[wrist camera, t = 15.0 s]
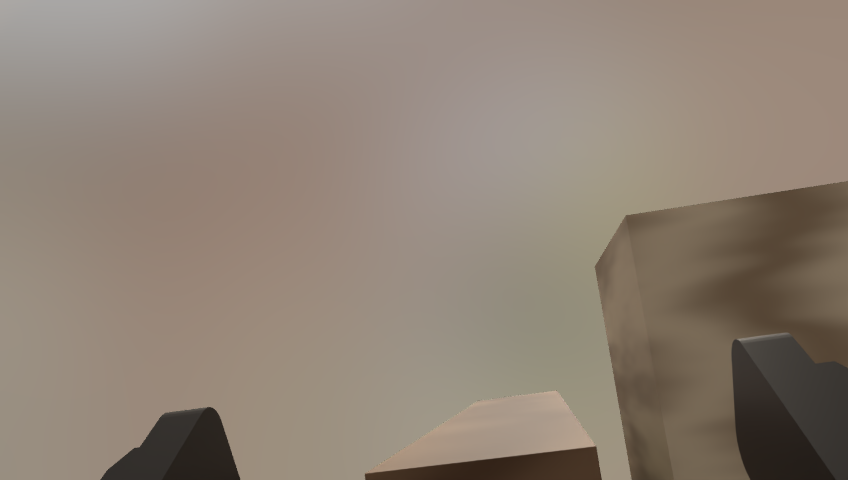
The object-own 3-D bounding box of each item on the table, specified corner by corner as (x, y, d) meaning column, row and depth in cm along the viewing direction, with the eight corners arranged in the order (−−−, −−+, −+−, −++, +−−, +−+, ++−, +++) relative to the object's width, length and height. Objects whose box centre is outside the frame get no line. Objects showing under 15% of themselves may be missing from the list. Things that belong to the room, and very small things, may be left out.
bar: (393, 723, 12) (364, 473, 13) (489, 481, 38) (478, 400, 39) (639, 704, 12) (596, 446, 13) (570, 472, 37) (557, 390, 38)
